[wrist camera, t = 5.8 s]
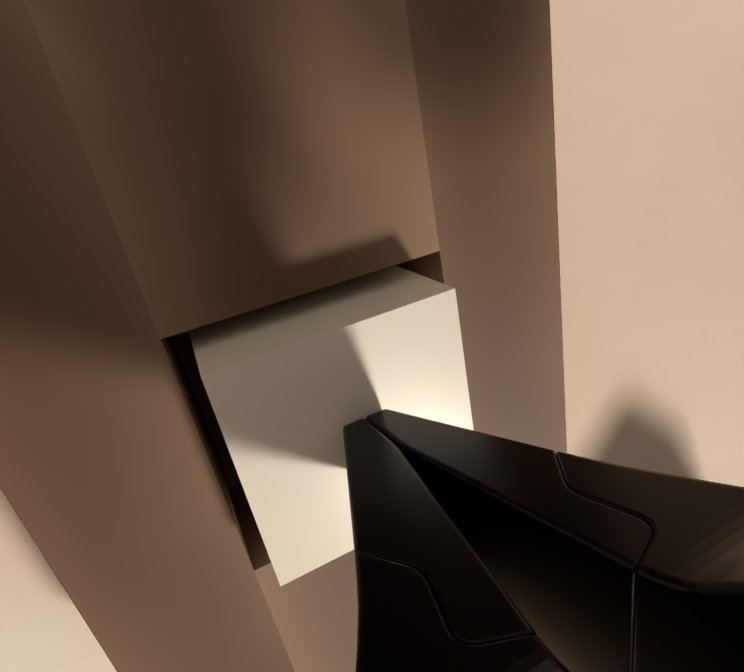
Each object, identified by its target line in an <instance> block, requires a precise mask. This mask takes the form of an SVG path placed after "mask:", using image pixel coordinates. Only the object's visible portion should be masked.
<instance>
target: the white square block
mask: <svg viewBox="0 0 744 672" xmlns="http://www.w3.org/2000/svg"><path fill="white" fill-rule="evenodd" d="M189 335H190V339H191V342H192V346H193V350H194V353H195V357H196V361H197V364H198V368H199V372H200V376H201V379H202V381H203V384H204V387H205V389H206V392H207V394H208V397H209V400H210V402H211V405H212V408H213V410H214V413H215V415H216V418H217V421H218V423H219V426H220V429H221V431H222V434H223V437H224V439H225V442H226V444H227V447H228V450H229V452H230V455H231V458H232V460H233V463H234V465H235V468H236V471H237V473H238V476H239V479H240V481H241V484H242V487H243V489H244V492H245V494H246V497H247V500H248V502H249V505H250V508H251V510H252V513H253V515H254V518H255V521H256V523H257V526H258V529H259V531H260V534H261V537H262V539H263V542H264V544H265V547H266V550H267V552H268V555H269V558H270V560H271V563H272V565H273V568H274V571H275V573H276V576H277V579H278V581H279V584H280V586H283V585H285V584H287V583H289V582H291V581H292V580H294V579H296V578H298V577H300V576H302V575H304V574H306V573H308V572H310V571H312V570H314V569H316V568H318V567H320V566H322V565H324V564H326V563H328V562H330V561H332V560H334V559H336V558H338V557H340V556H342V555H344V554H346V553H348V552H350V551H352V550H354V543H353V533H352V522H351V512H350V501H349V491H348V480H347V470H346V459H345V449H344V438H343V427H344V426H345V425H347V424H350V423H352V422H354V421H357V420H359V419H366V417H367V416H369V415H371V414H373V413H376V412H378V411H381V410H383V409H388V410H392V411H396V412H401V413H405V414H409V415H413V416H417V417H421V418H425V419H429V420H433V421H437V422H441V423H445V424H449V425H453V426H457V427H461V428H465V429H469V430H474V429H473V422H472V414H471V406H470V398H469V391H468V383H467V375H466V368H465V360H464V352H463V345H462V337H461V329H460V321H459V314H458V306H457V298H456V291H455V288H453V287H450V286H448V285H445V284H443V283H440V282H437V281H435V280H432V279H430V278H427V277H425V276H422V275H419V274H417V273H414V272H412V271H409V270H406V269H404V268H401V267H399V266H396V265H394V266H390V267H387V268H384V269H381V270H378V271H375V272H371V273H368V274H365V275H362V276H359V277H356V278H353V279H349V280H346V281H343V282H340V283H337V284H334V285H331V286H327V287H324V288H321V289H318V290H315V291H312V292H309V293H305V294H302V295H299V296H296V297H293V298H290V299H286V300H283V301H280V302H277V303H274V304H271V305H268V306H264V307H261V308H258V309H255V310H252V311H249V312H246V313H242V314H239V315H236V316H233V317H230V318H227V319H223V320H220V321H217V322H214V323H211V324H208V325H205V326H201V327H198V328H195V329H192V330H189Z"/></svg>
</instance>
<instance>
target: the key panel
mask: <svg viewBox="0 0 744 672" xmlns="http://www.w3.org/2000/svg"><path fill="white" fill-rule="evenodd" d="M394 265H396V266H399V267H401V268H404V269H406V270H409V271H412V272H414V273H417V274H419V275H422V276H425V277H427V278H430V279H432V280H435V281H437V282H440V283H443V284H445V285H448V286H450V287H453V288H455V291H456V298H457V306H458V314H459V321H460V329H461V337H462V345H463V352H464V360H465V368H466V375H467V383H468V391H469V398H470V406H471V414H472V422H473V429H474V431H478V432H482V433H486V434H490V435H494V436H498V437H502V438H506V439H510V440H514V441H518V442H522V443H526V444H530V445H534V446H538V447H542V448H546V449H551V450H554V451H555V453H557V452H563V453H567V445H566V419H565V393H564V367H563V341H562V315H561V289H560V263H559V237H558V211H557V185H556V159H555V133H554V107H553V81H552V55H551V29H550V3H549V0H0V488H1V490H2V491H3V493H4V494H5V496H6V497H7V499H8V501H9V502H10V504H11V505H12V507H13V508H14V510H15V512H16V513H17V515H18V516H19V518H20V520H21V521H22V523H23V524H24V526H25V527H26V529H27V531H28V532H29V534H30V535H31V537H32V538H33V540H34V542H35V543H36V545H37V546H38V548H39V549H40V551H41V553H42V554H43V556H44V557H45V559H46V560H47V562H48V564H49V565H50V567H51V568H52V570H53V571H54V573H55V575H56V576H57V578H58V579H59V581H60V583H61V584H62V586H63V587H64V589H65V590H66V592H67V594H68V595H69V597H70V598H71V600H72V601H73V603H74V605H75V606H76V608H77V609H78V611H79V612H80V614H81V616H82V617H83V619H84V620H85V622H86V623H87V625H88V627H89V628H90V630H91V631H92V633H93V634H94V636H95V638H96V639H97V641H98V642H99V644H100V646H101V647H102V649H103V650H104V652H105V653H106V655H107V657H108V658H109V660H110V661H111V663H112V664H113V666H114V668H115V669H116V671H117V672H355V670H356V655H357V628H358V598H357V578H356V568H355V554H354V550H352V551H350V552H348V553H346V554H344V555H342V556H340V557H338V558H336V559H334V560H332V561H330V562H328V563H326V564H324V565H322V566H320V567H318V568H316V569H314V570H312V571H310V572H308V573H306V574H304V575H302V576H300V577H298V578H296V579H294V580H292V581H291V582H289V583H287V584H285V585H283V586H280V584H279V581H278V579H277V576H276V573H275V571H274V568H273V565H272V563H271V560H270V558H269V555H268V552H267V550H266V547H265V544H264V542H263V539H262V537H261V534H260V531H259V529H258V526H257V523H256V521H255V518H254V515H253V513H252V510H251V508H250V505H249V502H248V500H247V497H246V494H245V492H244V489H243V487H242V484H241V481H240V479H239V476H238V473H237V471H236V468H235V465H234V463H233V460H232V458H231V455H230V452H229V450H228V447H227V444H226V442H225V439H224V437H223V434H222V431H221V429H220V426H219V423H218V421H217V418H216V415H215V413H214V410H213V408H212V405H211V402H210V400H209V397H208V394H207V392H206V389H205V387H204V384H203V381H202V379H201V376H200V372H199V368H198V364H197V361H196V357H195V353H194V350H193V346H192V342H191V339H190V335H189V330H192V329H195V328H198V327H201V326H205V325H208V324H211V323H214V322H217V321H220V320H223V319H227V318H230V317H233V316H236V315H239V314H242V313H246V312H249V311H252V310H255V309H258V308H261V307H264V306H268V305H271V304H274V303H277V302H280V301H283V300H286V299H290V298H293V297H296V296H299V295H302V294H305V293H309V292H312V291H315V290H318V289H321V288H324V287H327V286H331V285H334V284H337V283H340V282H343V281H346V280H349V279H353V278H356V277H359V276H362V275H365V274H368V273H371V272H375V271H378V270H381V269H384V268H387V267H390V266H394Z"/></svg>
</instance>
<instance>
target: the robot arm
mask: <svg viewBox="0 0 744 672" xmlns="http://www.w3.org/2000/svg"><path fill="white" fill-rule="evenodd" d="M343 438H344V449H345V459H346V470H347V480H348V491H349V501H350V512H351V522H352V533H353V543H354V554H355V568H356V578H357V598H358V628H357V655H356V670H355V672H744V487H739V486H733V485H727V484H721V483H715V482H710V481H704V480H698V479H692V478H686V477H680V476H675V475H669V474H663V473H657V472H652V471H646V470H641V469H636V468H630V467H625V466H620V465H615V464H610V463H606V462H601V461H597V460H593V459H588V458H584V457H579V456H575V455H571V454H567V453H563V452H557V453H555V451H554V450H551V449H546V448H542V447H538V446H534V445H530V444H526V443H522V442H518V441H514V440H510V439H506V438H502V437H498V436H494V435H490V434H486V433H482V432H478V431H474V430H469V429H465V428H461V427H457V426H453V425H449V424H445V423H441V422H437V421H433V420H429V419H425V418H421V417H417V416H413V415H409V414H405V413H401V412H396V411H392V410H388V409H383V410H381V411H378V412H376V413H373V414H371V415H369V416H367V417H366V419H359V420H357V421H354V422H352V423H350V424H347V425H345V426H344V427H343Z"/></svg>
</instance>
